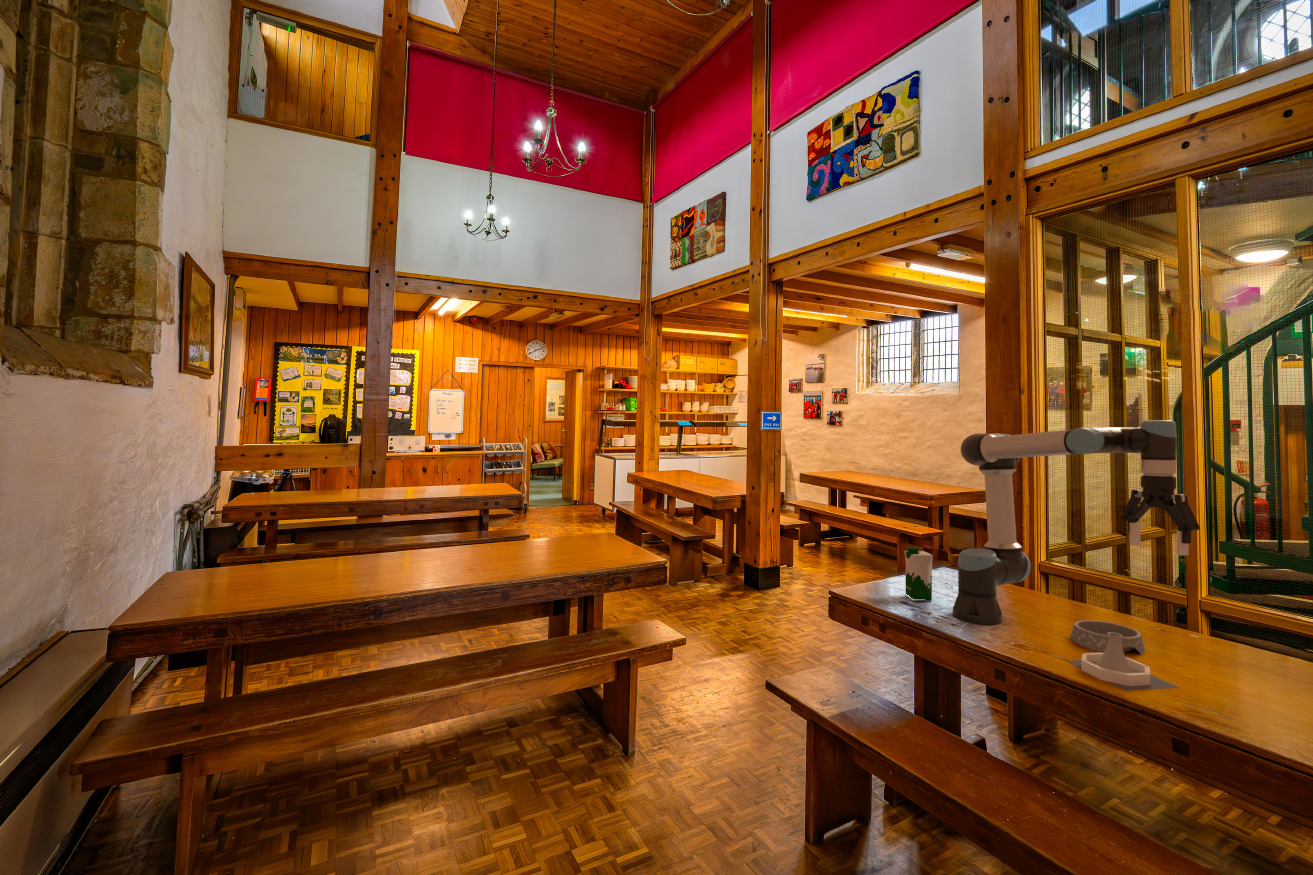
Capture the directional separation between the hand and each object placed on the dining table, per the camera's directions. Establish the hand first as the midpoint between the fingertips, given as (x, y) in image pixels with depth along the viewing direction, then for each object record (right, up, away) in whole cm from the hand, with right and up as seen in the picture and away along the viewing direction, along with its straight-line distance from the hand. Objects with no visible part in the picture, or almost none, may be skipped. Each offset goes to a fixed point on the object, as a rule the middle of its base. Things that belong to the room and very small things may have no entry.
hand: (1157, 549), depth 157 cm
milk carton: (-39, -31, +60) cm, 78 cm away
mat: (-18, -32, -8) cm, 37 cm away
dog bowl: (-4, -32, +13) cm, 35 cm away
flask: (-19, -31, -8) cm, 37 cm away
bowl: (-19, -32, -8) cm, 38 cm away
